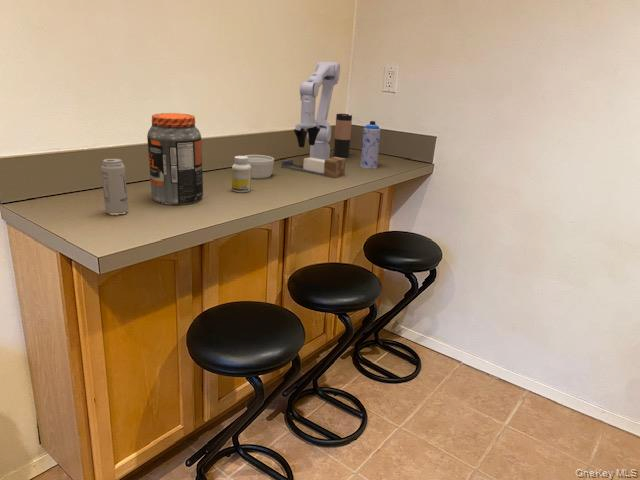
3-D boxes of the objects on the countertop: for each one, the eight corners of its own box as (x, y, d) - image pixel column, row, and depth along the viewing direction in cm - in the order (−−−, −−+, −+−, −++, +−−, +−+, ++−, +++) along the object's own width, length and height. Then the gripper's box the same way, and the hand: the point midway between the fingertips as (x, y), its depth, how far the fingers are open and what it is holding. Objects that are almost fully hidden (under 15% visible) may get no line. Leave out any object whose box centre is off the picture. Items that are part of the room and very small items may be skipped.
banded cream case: (309, 168, 205) (310, 156, 204) (337, 174, 198) (338, 162, 197) (303, 170, 202) (303, 158, 200) (331, 176, 195) (332, 163, 193)
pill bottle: (243, 187, 171) (243, 154, 167) (254, 191, 167) (255, 157, 163) (228, 189, 167) (227, 156, 163) (239, 193, 163) (239, 159, 159)
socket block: (334, 172, 201) (335, 156, 199) (344, 175, 199) (345, 158, 196) (323, 176, 195) (324, 159, 192) (334, 178, 192) (335, 161, 190)
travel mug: (332, 157, 233) (335, 114, 226) (334, 154, 241) (337, 113, 234) (348, 158, 232) (351, 115, 225) (349, 155, 240) (353, 114, 233)
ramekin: (252, 181, 180) (252, 162, 178) (233, 174, 190) (232, 156, 187) (280, 177, 189) (280, 159, 186) (260, 170, 198) (261, 153, 196)
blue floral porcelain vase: (361, 164, 222) (365, 119, 215) (378, 165, 220) (383, 121, 213) (358, 167, 215) (362, 121, 208) (375, 169, 213) (380, 122, 206)
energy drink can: (127, 215, 135) (123, 162, 130) (104, 216, 133) (99, 162, 128) (129, 209, 140) (125, 158, 135) (106, 210, 139) (101, 158, 133)
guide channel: (291, 164, 212) (291, 158, 211) (333, 173, 201) (334, 167, 200) (281, 167, 206) (281, 161, 205) (324, 175, 195) (324, 169, 194)
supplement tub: (149, 193, 157) (144, 111, 148) (199, 191, 163) (196, 112, 154) (153, 207, 143) (147, 118, 134) (207, 204, 149) (204, 118, 140)
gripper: (306, 115, 189) (304, 149, 194) (325, 112, 201) (323, 145, 206) (291, 113, 193) (290, 147, 198) (311, 110, 204) (310, 143, 209)
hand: (306, 146), depth 202 cm, fingers open, 7 cm apart
